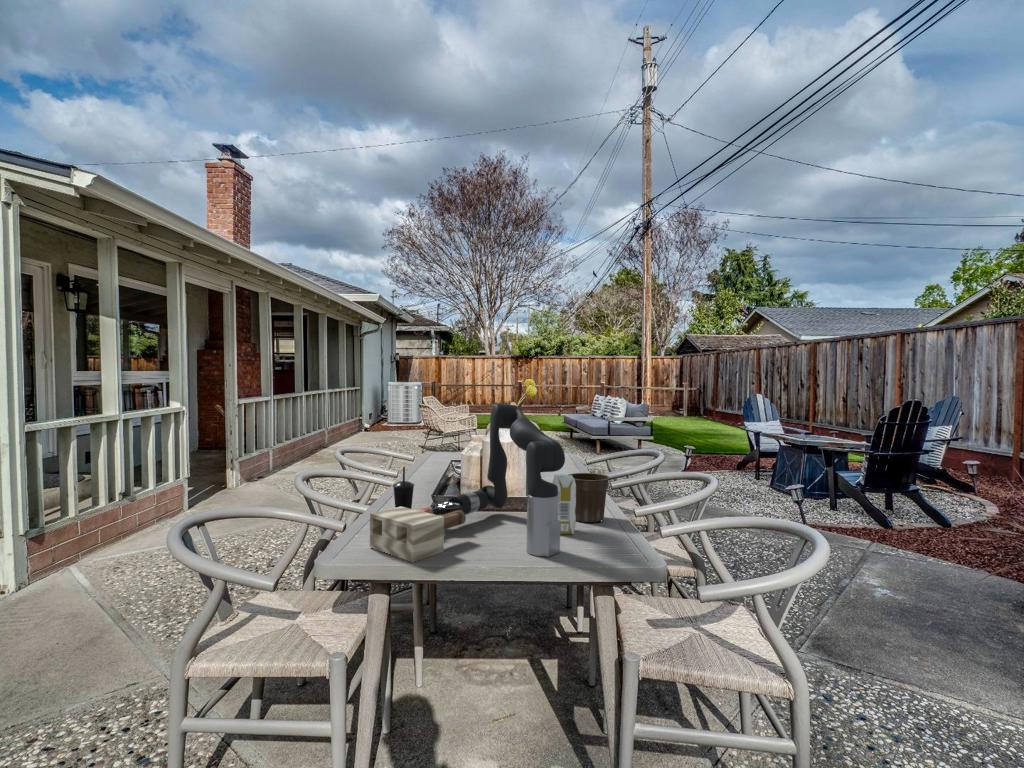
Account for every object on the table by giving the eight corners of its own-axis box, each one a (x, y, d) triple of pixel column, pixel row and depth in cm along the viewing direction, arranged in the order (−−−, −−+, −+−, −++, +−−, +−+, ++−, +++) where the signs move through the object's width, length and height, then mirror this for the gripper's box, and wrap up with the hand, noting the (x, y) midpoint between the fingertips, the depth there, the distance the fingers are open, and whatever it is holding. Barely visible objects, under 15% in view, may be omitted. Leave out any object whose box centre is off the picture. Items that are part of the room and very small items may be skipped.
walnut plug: (465, 525, 165) (465, 511, 165) (427, 537, 152) (427, 521, 152) (455, 522, 168) (455, 508, 168) (417, 534, 155) (417, 519, 154)
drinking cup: (418, 521, 185) (419, 466, 185) (403, 526, 179) (404, 469, 179) (402, 518, 189) (403, 464, 189) (387, 523, 183) (388, 467, 183)
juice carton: (553, 535, 171) (554, 478, 171) (551, 528, 180) (552, 473, 180) (576, 535, 171) (577, 478, 171) (572, 528, 180) (573, 474, 180)
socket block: (443, 551, 153) (444, 516, 153) (412, 562, 144) (413, 525, 144) (400, 538, 165) (401, 506, 165) (369, 548, 156) (370, 513, 156)
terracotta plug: (433, 521, 169) (433, 507, 169) (393, 533, 155) (393, 517, 155) (423, 519, 171) (423, 505, 171) (383, 530, 158) (384, 515, 158)
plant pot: (563, 513, 201) (564, 472, 201) (604, 513, 201) (605, 472, 201) (567, 524, 185) (568, 479, 185) (612, 525, 185) (613, 480, 184)
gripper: (451, 491, 188) (415, 499, 174) (478, 496, 180) (442, 505, 166) (450, 511, 188) (414, 521, 174) (478, 517, 180) (442, 528, 166)
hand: (428, 513), depth 170 cm, fingers closed
